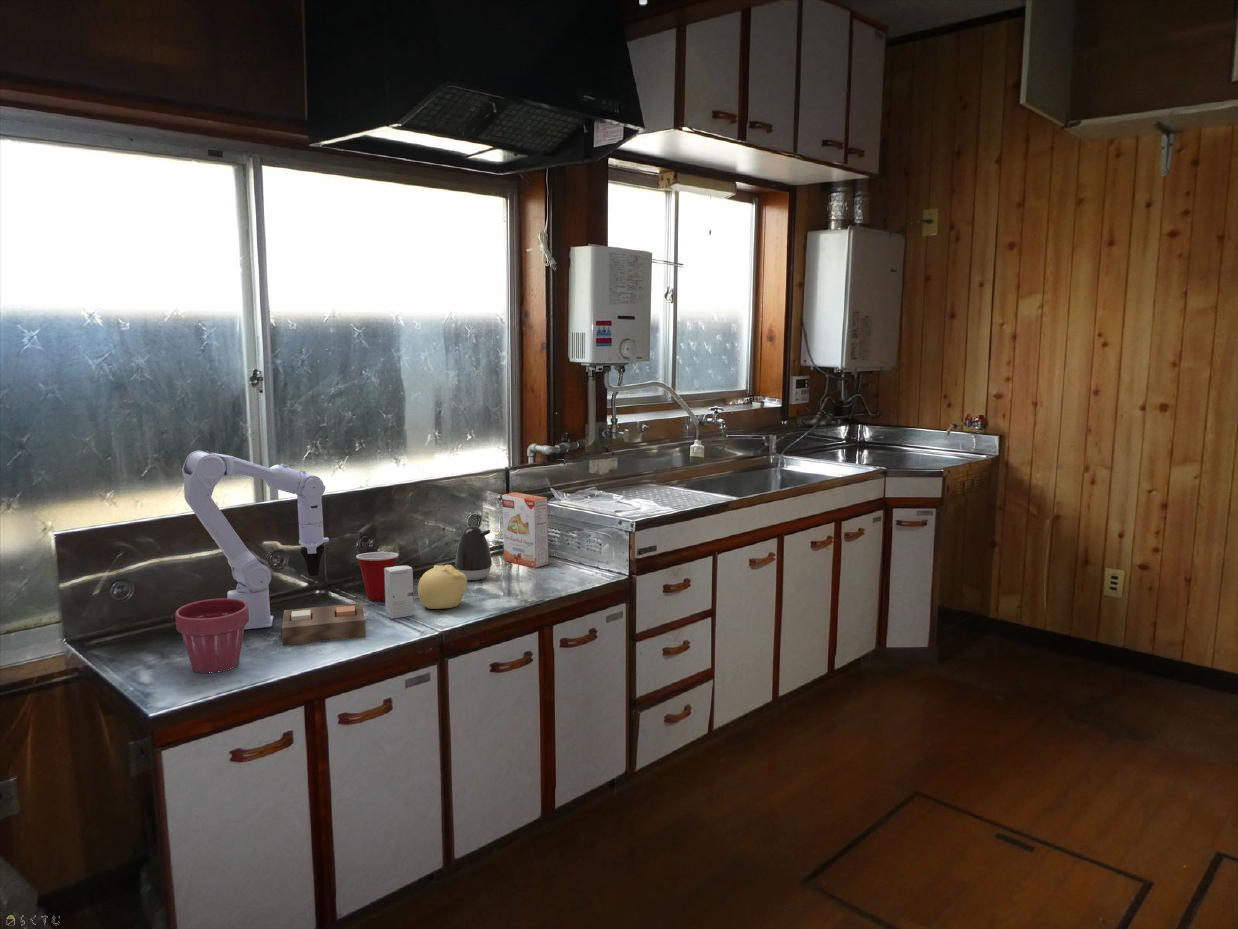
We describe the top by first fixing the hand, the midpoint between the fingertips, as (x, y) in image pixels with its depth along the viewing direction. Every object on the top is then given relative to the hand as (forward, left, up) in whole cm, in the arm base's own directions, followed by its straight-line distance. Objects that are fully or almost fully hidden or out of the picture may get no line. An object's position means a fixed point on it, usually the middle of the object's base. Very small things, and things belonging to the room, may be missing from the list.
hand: (313, 575), depth 230 cm
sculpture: (+31, -6, -10) cm, 33 cm away
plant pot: (-20, -33, -10) cm, 40 cm away
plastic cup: (+16, +7, -10) cm, 20 cm away
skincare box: (+20, -10, -10) cm, 24 cm away
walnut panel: (+2, -17, -9) cm, 20 cm away
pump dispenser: (+43, +18, -10) cm, 48 cm away
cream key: (-3, -17, -8) cm, 19 cm away
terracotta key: (+7, -17, -8) cm, 20 cm away
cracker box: (+60, +30, -10) cm, 68 cm away
